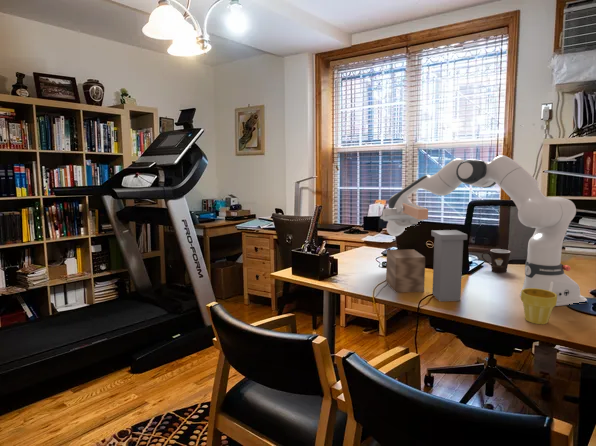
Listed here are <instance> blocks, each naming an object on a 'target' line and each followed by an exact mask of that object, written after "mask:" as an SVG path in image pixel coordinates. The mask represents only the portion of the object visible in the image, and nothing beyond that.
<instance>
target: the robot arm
mask: <svg viewBox="0 0 596 446" xmlns="http://www.w3.org/2000/svg"><path fill="white" fill-rule="evenodd" d="M461 184H466V185H470V186H473V187H478V188H491V187H494V186H495V185H498V186H499V188H500V189H502V191H504V192H505V194H506V195H507V196H508V197H509V198H510V199H511V200H512V201H513V203H514V204H515V206H516V208H517V210H518V211H517V218H518V220H519V222H520V223H521V224H522V225H523V226H525V227H527V228H532V229H535V230H534V232H533V234H532V236H531V237H530V238H529V240H528V244H527V256H526V260H525V263H524V275H525V276H524V280H523V283H522V284H523V285H522V288H521V290H520V293H519V296H520V297H521V291H522V290H523V289H526V288H538V289H544V290H548V291H551V292H554V293H555V294H556V295H557V303H556V306H555V307H560V306H568V305H569V304H570V305H574V304H573V303H579V302H585V301H587V302H588V299H587V298H586V297H585V296H583V295H581V290H580V289H581V288H580V285H579V284H578V283H577V282H576V281H575V280H574V279H572V278H571V277H570V276H568V275H567V274H566V273H565V271H566V272H570V271H571V269H572V268H571V266H570V265H568V264H562V263H561V259H562V249H563V243H564V239H565V237H566V235H567V231H568V228H569V226H570V224H571V222H572V221H573V219H574V218H575V216H576V214H577V208H576V205H575V203H574V202H573V201H572V200H570V199H568V198H565V197H560V196H553V197H552V196H551V197H547V196H545V195H544V194H543V192H542V191H541V190H540V188H539V181H538V180H537V179H536V178H535V177H534V176H532V174H530V173H529V172H528V171H527V170H526V169H525V168H524V167H523V166H522V165H520V164H519V163H518V162H517V161H515V160H514V159H513V158H511V157H508V156H507V155H498V156H496V157H494V158H493V159H492V160H490V161H489V162H486V161H484V160H480V159H474V158H469V159H462V158H458V157H457V158H455V159H452V160H451V161H449V162H448V163H446V165H444V166H443V167H441V169H439V170H438V172H437V171H436V173H434V174H432V175H431V174H425V175H423V176H421V177H419V178H418V179H416V180H415V181H414V182H412V183H410V184H409V185H408V186H406V187H405V188H403V189H402V190H400V191H398V192H397V193H395V194H393V195H392V196H391V197H389V199H388V202H387V203H388V207H387V208H384V209H383V210H382V214H381V215H380V220H383V222H387V223H386V227H385V228H386V232H387V233H388V235H390V236H392V237H398V236H400V235H402V234H403V233H404V231H406V230H405V228H407V227H410V226H415V225H416V226H418V225H417V224H418V222H420V221H422V222H423V221H424V220H425V219H416V218H414V217H412V216H410V215H408V214H406V213H403V212H402V211H404V210H405V208H404V207H405V206H403V203H413V202H412V201H411V200H410V198H409V196H411V195H412V194H414V193H415V192H417V191H418V190H419V189H422V190H425V191H427V192H430V193H431V194H433V195H435V196H440V197H442V196H443V197H444V196H447V195H450V194H451V193H452V192H453V191H455V190H456V189H457V188H458V187H459V186H460V185H461ZM425 208H426V207H425ZM426 209H428V208H426ZM416 226H415V227H416ZM579 304H580V303H579Z"/></svg>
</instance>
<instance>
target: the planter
mask: <svg viewBox="0 0 596 446" xmlns="http://www.w3.org/2000/svg"><path fill="white" fill-rule="evenodd" d="M403 206H405V207H404V208H405V210H404V211H402V212H403V213H406V214H408V215H410V216H412V217H414V218H416V219H424V220H428V219H429V209H428V208H427V209H426V207H423V206H421V205H418V204H415V203H413V202H412V203H403Z"/></svg>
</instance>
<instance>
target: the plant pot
mask: <svg viewBox="0 0 596 446" xmlns="http://www.w3.org/2000/svg"><path fill="white" fill-rule="evenodd" d="M521 290H522V289H521ZM521 290H520V293H521V296H520V300H521V302H522V304H523V310H524V311H523V313H524V318H525V319H524V320H526V321H527V322H529V323H532V324H535V325H546V324H548V323H549V320H550V318H551V315H552V312H553V309H554V307H557V306H556V303H557V295H556V294H555V293H554V292H551V291H548V290H544V289H538V288H526V289H523V290H522V291H521Z"/></svg>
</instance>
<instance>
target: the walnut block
mask: <svg viewBox="0 0 596 446" xmlns="http://www.w3.org/2000/svg"><path fill="white" fill-rule="evenodd" d="M385 271H386V274H385V276H386V279H385V282H386V283H387V284H388V286H389V287H390V288H391V289H392V290H393V291H394V293H418V292H419V293H423V292H425V281H426V279H425V278H426V277H425V276H426V275H425V274H426V273H425V272H426V256H424V255H423V254H422V253H420V252H418V251H417V249H416V250H415V249H411V248H410V249H409V248H408V249H386V270H385Z"/></svg>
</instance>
